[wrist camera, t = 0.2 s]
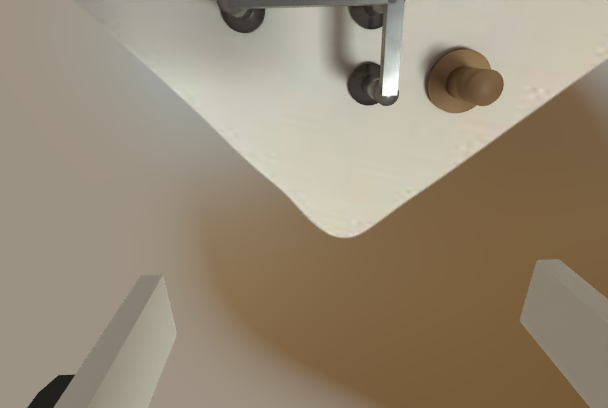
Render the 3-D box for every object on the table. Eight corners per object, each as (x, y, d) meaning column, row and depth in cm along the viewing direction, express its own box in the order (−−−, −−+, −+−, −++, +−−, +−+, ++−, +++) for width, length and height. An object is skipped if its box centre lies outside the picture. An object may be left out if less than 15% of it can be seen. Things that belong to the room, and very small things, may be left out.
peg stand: (431, 50, 35) (456, 51, 29) (491, 48, 35) (528, 49, 29) (424, 112, 37) (446, 124, 32) (480, 110, 37) (512, 122, 32)
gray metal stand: (219, -16, 32) (195, -35, 24) (395, -21, 32) (428, -42, 24) (232, 108, 36) (216, 126, 29) (386, 103, 37) (412, 120, 29)
